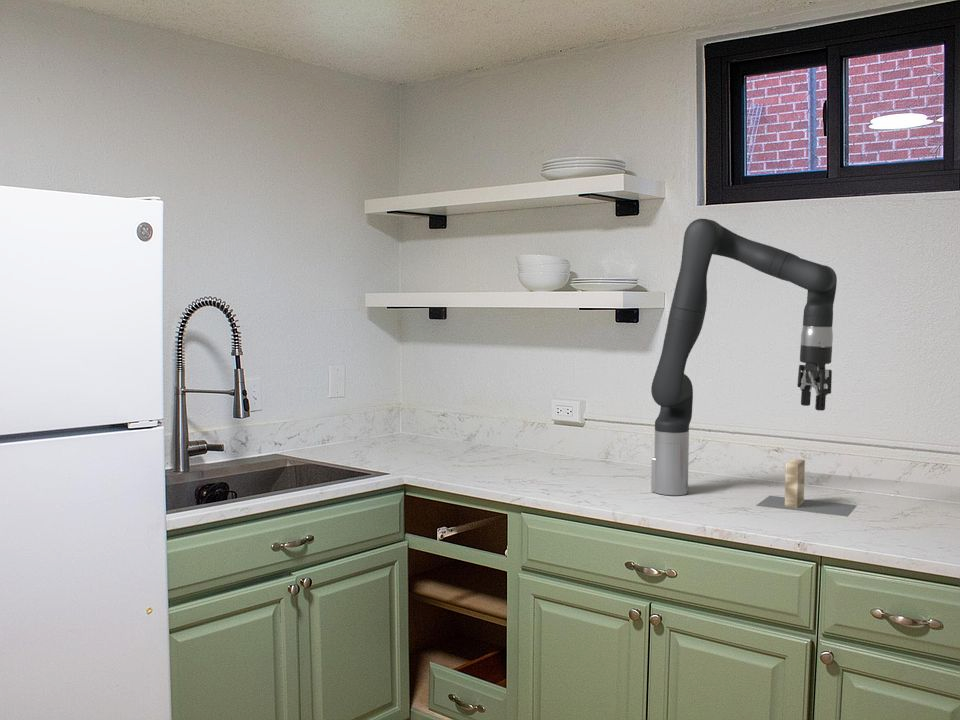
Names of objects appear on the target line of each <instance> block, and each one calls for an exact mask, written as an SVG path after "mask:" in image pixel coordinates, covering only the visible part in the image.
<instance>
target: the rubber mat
mask: <svg viewBox="0 0 960 720" xmlns="http://www.w3.org/2000/svg"><path fill="white" fill-rule="evenodd" d="M857 506H858V505H857V504H851V503H850V504H849V503H848V504H847V503H838V502H830V501H822V500H821V501H820V500H813V499H811V500H810V499H805V498H804V502H803V503H802V504H801V505H800V506H798V507H797V508H795V507H786V506H785V496H775V495H768V496H767V497H765V498H764V499H763V500H761V501H760V502H758V503H757V504H756V505H755V507H763V508H771V509H781V510H787V511H788V510H789V511H790V510H791V511H796V512H797V511H798V512H805V513H807V512H808V513H814V514H823V515H832V516H841V517H847V518H848V517H849V515H850V514H851V513H852V512H853V511H854V509H855V508H857Z"/></svg>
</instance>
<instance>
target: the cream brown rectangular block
mask: <svg viewBox="0 0 960 720" xmlns="http://www.w3.org/2000/svg"><path fill="white" fill-rule="evenodd" d="M805 463H806V459H798V458H791V460H788V462H786V463H785V477H784V479H785V484H784V497H785V506H786V507H795V508H797V507H798V506H800V505H801V504H802V503H803V502H804V499H805V496H804V495H805V473H806V472H805V467H806V466H805V465H806V464H805Z"/></svg>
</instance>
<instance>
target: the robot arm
mask: <svg viewBox="0 0 960 720" xmlns="http://www.w3.org/2000/svg"><path fill="white" fill-rule="evenodd" d="M682 243H683V244H682V253H681V261H680V268H679V273H678V277H677V281H676V283H675V288H674V293H673V298H672V300H671V305H670V311H669V312H668V313H669V314H668V320H667V324H666V330H665V333H664V334H665V335H664V339H663V344H662V345H663V346H662V350H661V353H660V358H659V361H658V364H657V367H656V370H655V374H654V376H653V380H652V382H651V388H650V389H651V390H650V391H651V396H652V400H653V401H654V402H655V404H657V405H658V406H660V411H659V413H658V416H657V417H656V419H655V421H654V455H653V457H652V458H651V481H650V482H651V483H650V484H651V487H650V488H651V491H650V492H651V493H655V494H659V495H665V496H683V495H687V494H688V493H689V457H690V456H689V453H690V451H689V448H690V447H689V446H690V442H689V441H690V423H691V420H692V416H693V401H694V400H693V398H694V389H693V387H694V386H693V384H692V383H693V382H692V381H691V379H690V378H689V376H688V375H686V374H685V370H686V364H687V361H688V358H689V356H690V353H691V352H692V349H693V348H694V345H695V344H696V342H697V340H698V338H699V336H700V334H701V332H702V329H703V326H704V325H703V324H704V321H705V316H706V312H707V304H708V289H707V288H708V284H707V282H708V281H707V280H708V279H707V278H708V272H709V271H708V269H709V266H710V262H711V259H712V257H713V255H714V256H720V257H725V258H729V259H732V260H735V261H738V262H740V263H742V264H744V265H746V266H749V267H751V268H752V269H754V270H757V271H758V272H761V273H763V274H765V275H768V276H771V277H772V278H776V279H779V280H782V281H786V282H788V283H789V282H790V283H792V284H793V285H795V286H798V287H800V288H802V289H804V290H807V294H806V295H807V296H806V304H805V306H804V309H803V315H802V316H803V318H802V328H801V329H802V330H801V334H800V350H799V351H800V352H799V361H800V363H803V364H799V365H798V374H797V383H796V385H797V387H798V388H799V390H800V391H801V395H800V405H801V406H803V407H804V406H805V407H807V406H810V405H811V396H812V392H811V390H812V388H813V389H814V390H815V394H816V395H815V405H814V406H815V407H814V409H815V410H816V411H825V410H826V398H827V396H828V395H829V394H830V395H831V394H832V379H833V378H832V377H833V376H832V374H833V370H832V369H826V365H828V364H831V363H832V353H833V342H834V341H833V339H834V337H833V336H834V335H833V333H834V332H833V320H834V304H835V300H836V299H835V297H836V294H837V293H836V292H837V284H838V282H837V281H838V280H837V277H838V276H837V273H836V271H835V270H834V269H833V268H832V267H830V266H828V265H825V264H821V263H817V262H814V261H810V260H807V259H804V258H801V257H799V256H798V255H797V254H794V253H791V252H788V251H785V250H783V249H780V248H777V247H775V246H772V245H768V244H765V243H761V242H758V241H756V240H755V241H754V240H752V239H750V238H746V237H744V236H741V235H739V234H737V233H735V232H733V231H731V230H729V229H727V228H726V227H724V226H723V225H721V224H719V223H718V222H717V221H715V220H714V219H713V220H712V219H708V218H697V219H695V220H693V221H691V222H690V223H689V224H688V226H687V227H686V229H685V232H684V236H683V242H682Z"/></svg>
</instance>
